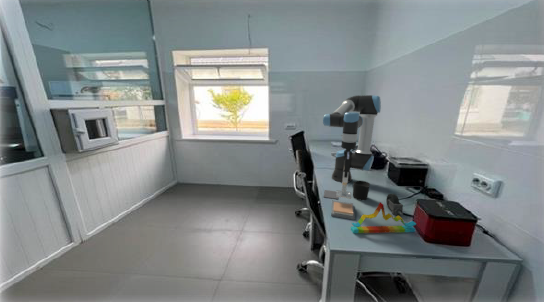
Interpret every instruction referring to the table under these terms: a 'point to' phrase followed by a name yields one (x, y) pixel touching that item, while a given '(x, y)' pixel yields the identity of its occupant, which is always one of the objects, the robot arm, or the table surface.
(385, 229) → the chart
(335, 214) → the slate board
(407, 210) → the table surface
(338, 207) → the tile
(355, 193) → the pen holder
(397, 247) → the table surface
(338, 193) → the wooden post on base
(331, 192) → the mat
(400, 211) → the caster wheel
